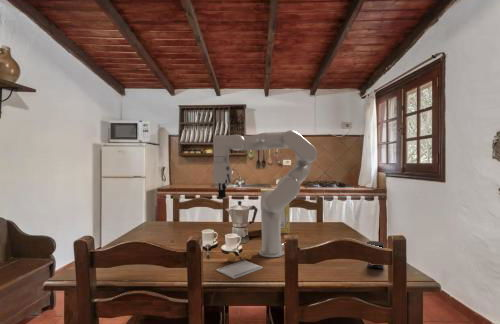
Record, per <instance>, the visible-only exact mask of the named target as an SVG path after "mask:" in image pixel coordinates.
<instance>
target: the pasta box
mask: <svg viewBox="0 0 500 324" xmlns="http://www.w3.org/2000/svg"><path fill="white" fill-rule="evenodd" d="M275 189H276V188H260V198H261V197H262V195H263V194H264V193H265V192H266V191H274V190H275ZM260 218H261V227H260V228H261V230H262V215H261V214H260ZM280 219H281V223H280V224H281V234H290V233H291V232H290V231H291V229H290V227H291V225H290V224H291V223H290V203H289V204H288V205H287V206H286V207H284V208H283V209H282V210H281V211H280Z"/></svg>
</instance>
